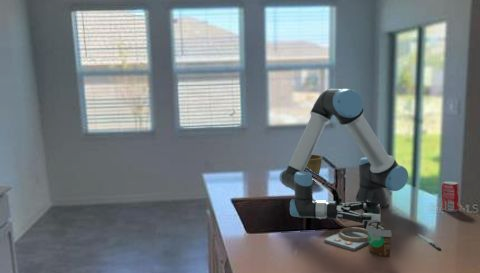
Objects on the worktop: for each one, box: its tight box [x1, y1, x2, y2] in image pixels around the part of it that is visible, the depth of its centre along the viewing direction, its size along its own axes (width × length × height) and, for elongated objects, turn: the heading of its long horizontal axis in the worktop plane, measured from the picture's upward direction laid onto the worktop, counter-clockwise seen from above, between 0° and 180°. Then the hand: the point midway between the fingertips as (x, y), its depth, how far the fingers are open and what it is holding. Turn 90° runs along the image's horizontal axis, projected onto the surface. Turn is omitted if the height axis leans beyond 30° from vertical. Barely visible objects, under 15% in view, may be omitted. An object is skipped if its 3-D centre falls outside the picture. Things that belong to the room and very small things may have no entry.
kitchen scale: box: [323, 226, 369, 252], centre depth 162 cm, size 13×17×2 cm
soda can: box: [441, 180, 460, 213], centre depth 192 cm, size 7×7×13 cm
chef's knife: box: [416, 233, 442, 252], centre depth 158 cm, size 19×1×3 cm
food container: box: [366, 220, 393, 258], centre depth 149 cm, size 12×6×10 cm, turn 5°
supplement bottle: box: [362, 199, 382, 229], centre depth 172 cm, size 7×7×12 cm
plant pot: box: [306, 154, 323, 185], centre depth 250 cm, size 15×15×16 cm
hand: (380, 212), depth 171 cm, fingers open, 13 cm apart
